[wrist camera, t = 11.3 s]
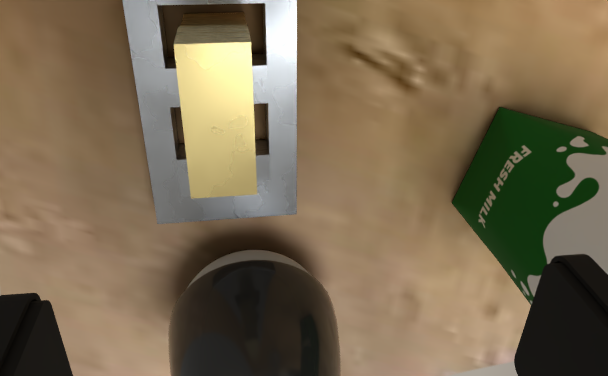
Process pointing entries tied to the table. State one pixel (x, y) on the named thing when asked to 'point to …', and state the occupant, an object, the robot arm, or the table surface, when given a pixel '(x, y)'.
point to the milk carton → (537, 195)
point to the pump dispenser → (254, 320)
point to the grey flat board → (165, 96)
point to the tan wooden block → (217, 103)
